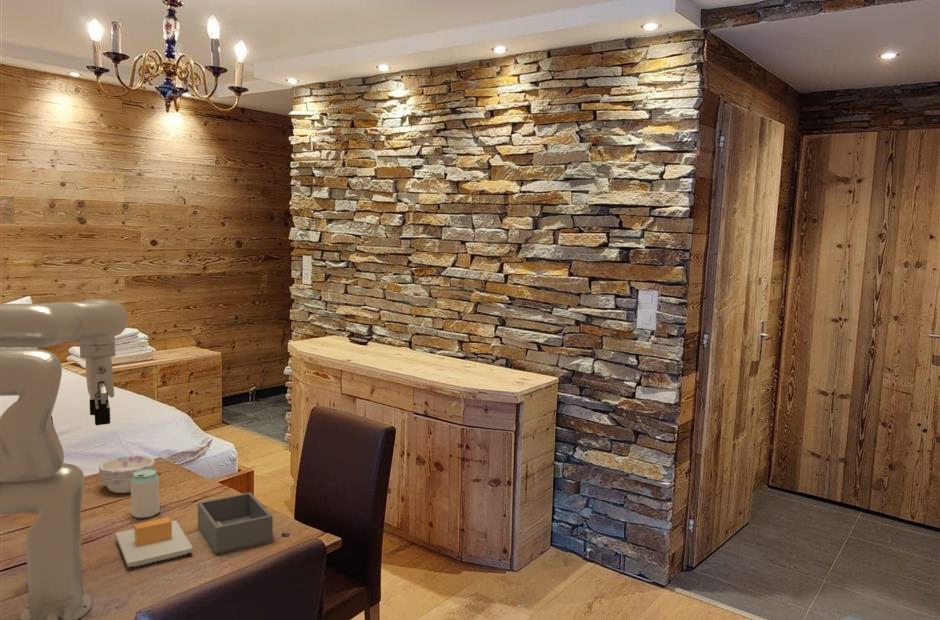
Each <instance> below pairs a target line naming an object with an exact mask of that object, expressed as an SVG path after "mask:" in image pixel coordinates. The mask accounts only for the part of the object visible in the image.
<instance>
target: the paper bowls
mask: <svg viewBox="0 0 940 620" xmlns="http://www.w3.org/2000/svg"><path fill="white" fill-rule="evenodd" d="M145 469H152V470H155V471H156V461H155V459H154V458H153V457H150V456H145V455H126V456H120V457H115V458H111V459H108V460H106V461H103V462H102V463H101V464H99V467H98V481H99V483H100V485H102V486H105V487H107V489H108V491H110V492H113V493H116V494H128V493H130V494H131V479H132V477H133V474H134V473H135V472H137V471H139V470H145Z"/></svg>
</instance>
